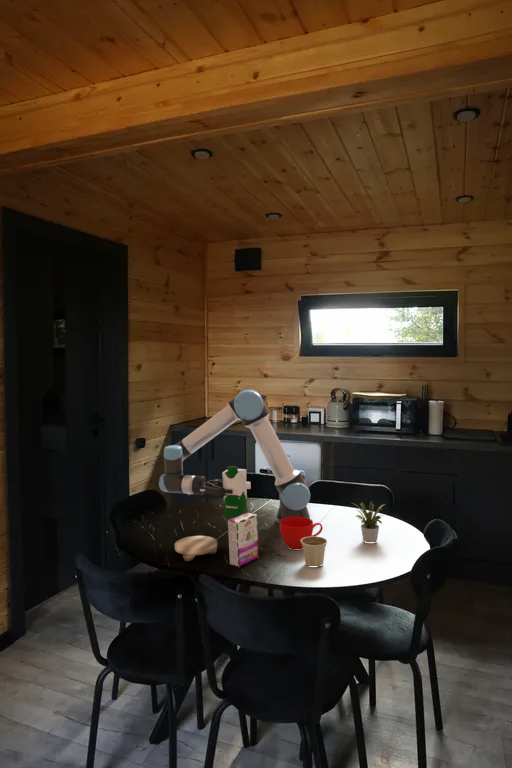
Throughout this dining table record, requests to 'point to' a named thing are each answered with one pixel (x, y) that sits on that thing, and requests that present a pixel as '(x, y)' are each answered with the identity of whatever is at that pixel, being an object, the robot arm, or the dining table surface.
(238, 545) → the candy bar box
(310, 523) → the ceramic cup
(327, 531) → the dining table surface
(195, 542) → the stand
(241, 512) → the soya milk
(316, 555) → the flower pot
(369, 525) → the house plant
